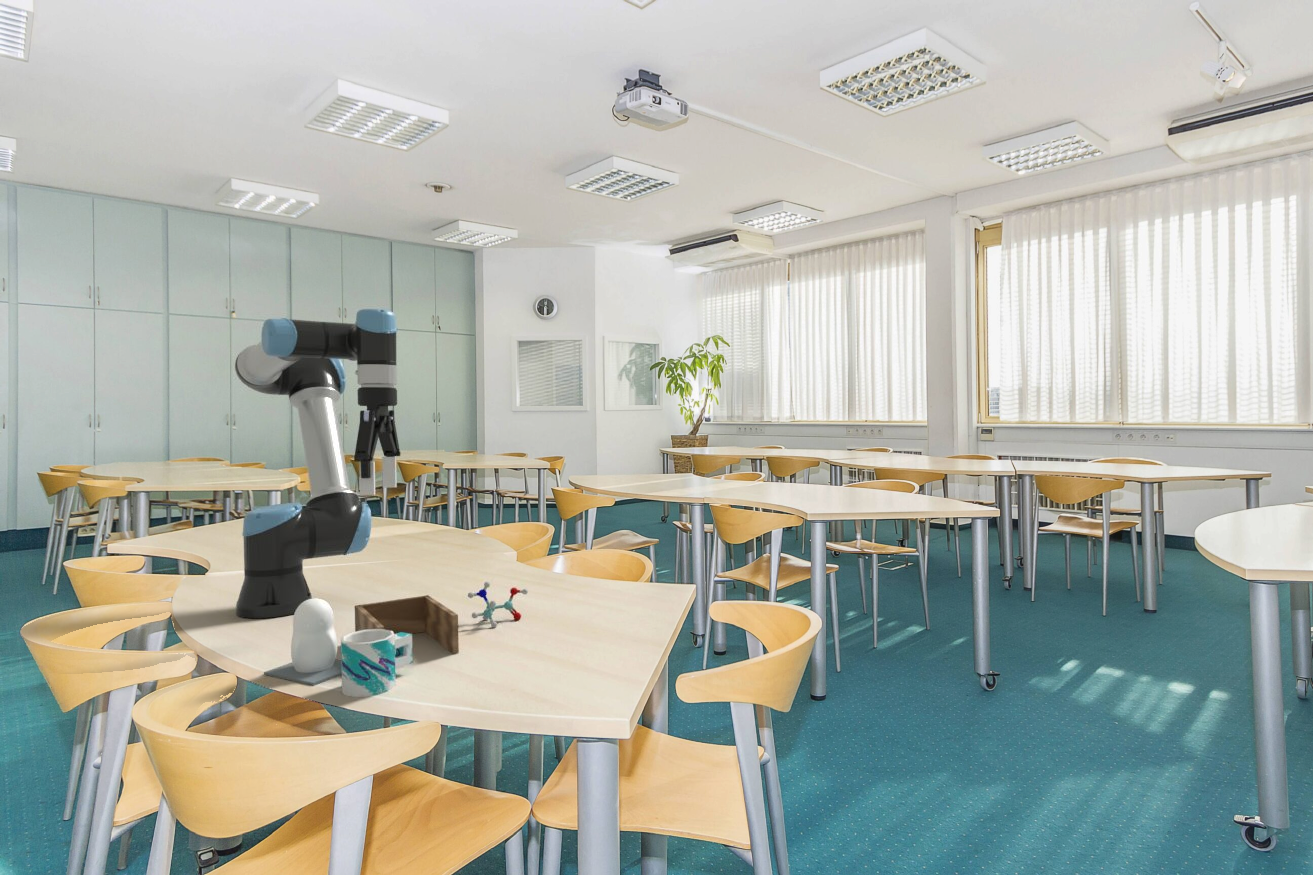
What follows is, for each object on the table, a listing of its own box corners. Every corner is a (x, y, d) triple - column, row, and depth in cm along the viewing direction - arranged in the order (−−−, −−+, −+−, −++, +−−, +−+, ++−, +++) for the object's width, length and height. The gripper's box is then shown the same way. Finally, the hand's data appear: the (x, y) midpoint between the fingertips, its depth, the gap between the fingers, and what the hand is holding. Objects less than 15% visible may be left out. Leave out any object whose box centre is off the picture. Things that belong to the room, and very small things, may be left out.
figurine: (291, 677, 122) (290, 605, 122) (291, 664, 129) (289, 595, 128) (338, 670, 125) (337, 600, 125) (335, 657, 132) (334, 590, 132)
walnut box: (355, 641, 143) (354, 605, 142) (428, 629, 150) (427, 595, 150) (378, 668, 128) (378, 627, 127) (458, 652, 135) (458, 614, 135)
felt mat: (263, 674, 125) (263, 672, 125) (314, 656, 134) (314, 654, 134) (313, 685, 120) (313, 682, 120) (362, 666, 129) (362, 663, 129)
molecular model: (509, 614, 148) (493, 569, 152) (471, 635, 150) (456, 590, 154) (538, 616, 158) (522, 574, 162) (501, 636, 160) (487, 594, 164)
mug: (330, 691, 117) (329, 638, 117) (389, 667, 128) (388, 619, 128) (367, 700, 113) (366, 645, 113) (425, 675, 124) (424, 625, 124)
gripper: (378, 388, 163) (380, 484, 164) (334, 384, 138) (336, 498, 139) (413, 388, 163) (415, 484, 164) (375, 384, 139) (377, 498, 139)
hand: (379, 491), depth 152 cm, fingers open, 13 cm apart
